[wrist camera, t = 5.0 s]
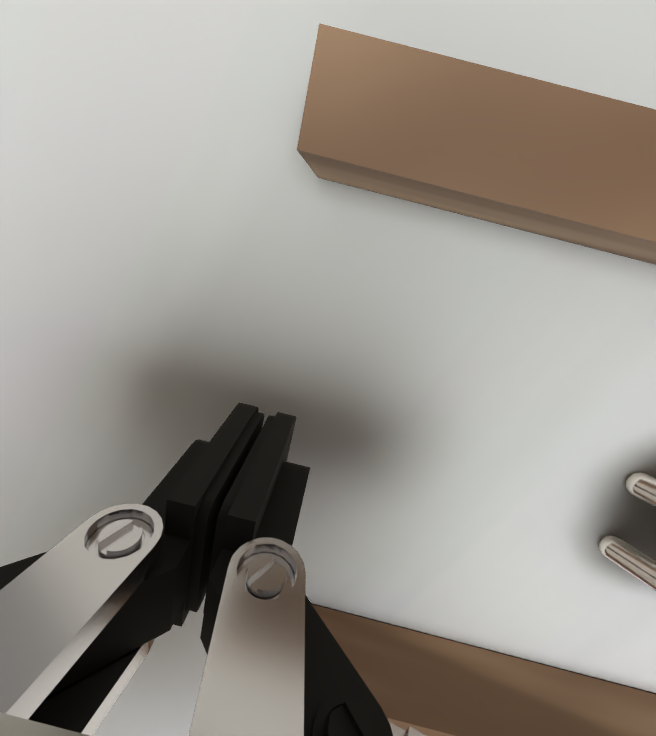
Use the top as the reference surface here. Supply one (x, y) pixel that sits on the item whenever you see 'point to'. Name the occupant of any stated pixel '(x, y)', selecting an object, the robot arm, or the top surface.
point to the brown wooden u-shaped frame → (506, 207)
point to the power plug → (622, 552)
